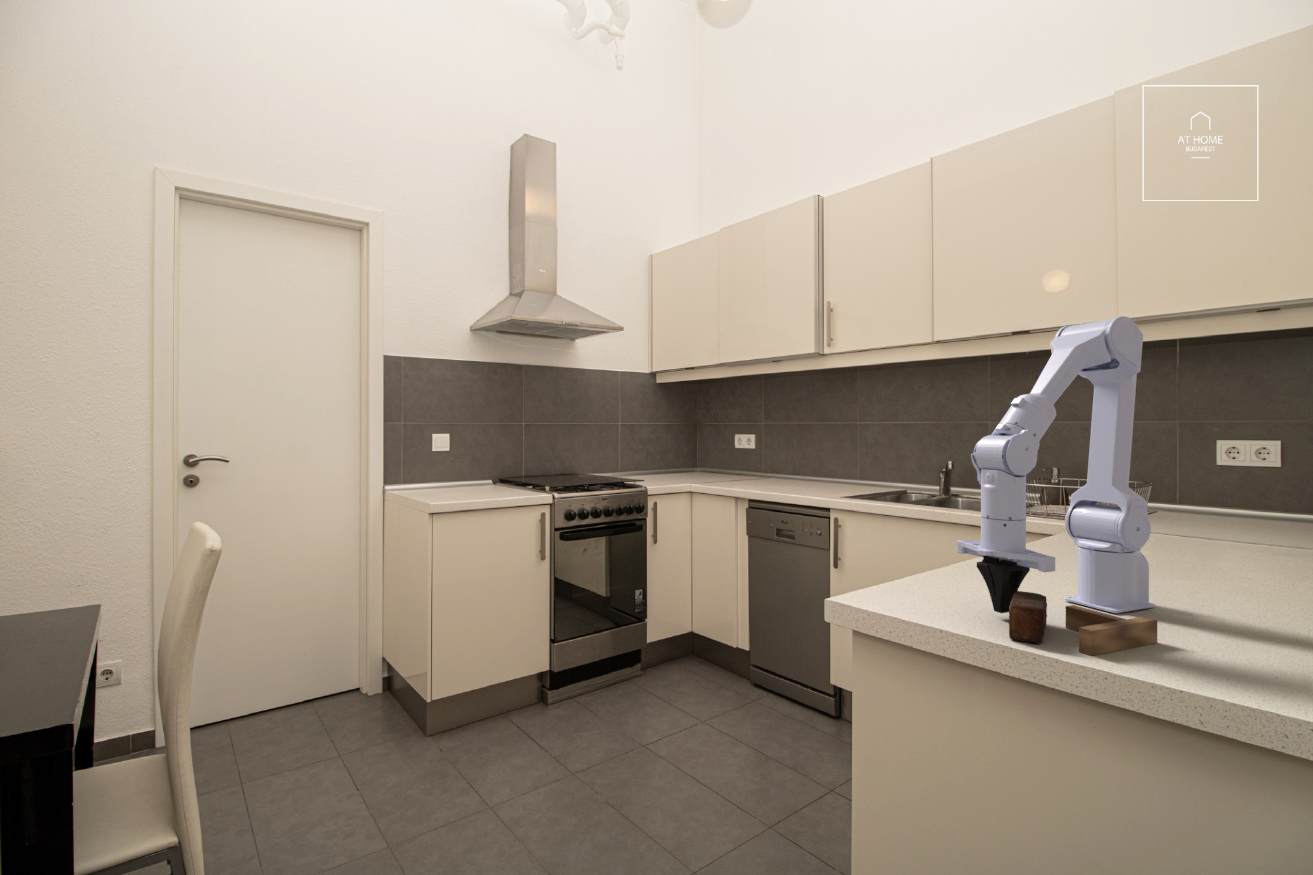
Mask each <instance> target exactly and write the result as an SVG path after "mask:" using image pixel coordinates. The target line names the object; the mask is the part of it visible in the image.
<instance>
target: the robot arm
mask: <svg viewBox="0 0 1313 875" xmlns="http://www.w3.org/2000/svg"><path fill="white" fill-rule="evenodd" d="M1143 341H1144V334H1143V332H1142V331H1141V330H1140V328H1139V326H1138V325H1137V324H1136V322H1135V321H1134V320H1133V319H1132V318H1131V317H1128V316H1124V315H1122V316H1117V317H1115V318H1111V319H1104V320H1098V321H1097V320H1096V321H1092V322H1086V323H1081V324H1074V325H1073V324H1067V325H1065V326H1062V327H1061V328H1059V329H1058V330H1057V332H1056V333H1055V336H1054V338H1052V339H1051V341H1050V342H1049V344H1050V350H1051V351H1050V352H1051V356H1050V358H1049V359H1048V360H1047V363H1046V364H1045V366H1044V368H1043V369H1042V371H1041V373H1040V375H1039V376H1038V379H1037V380H1036V382H1035V383H1034V385H1033V388H1032V389H1031V391H1030V392H1029V393H1027V394H1021V395H1019V396H1017V397H1014V398H1013V400H1012V401H1011V402H1010V405H1011V406H1010V407H1009V408H1008V410H1007V412H1005V414H1004V416H1002V419H1001V420H1000V421H999V423H998V424H997V426H996V427H995V428H994V430H993V432H992V433H991V434H988V435H986V436H983V437H981V439H980V440H979V441H977V443H976V444H975V446H974V449H973V452H972V453H971V454H970V460H971V463H972V466H973V468H974V469H975V470H976V474H977V475H976V476H977V481H978V484H979V485H980V541H978V540H971V539H961V540H957V541H956V542H957V544H956V550H957V553H958V554H962V555H965V554H967V555H971V556H975V557H980V558H983V559H982V560H981V561H977V562H976V568H977V570H978V571H979V573H980V574H981V576H982V578H983V581H984V583H985V585H986V587H987V590H988V594H989V596H990V600H991V603H992V607H993V610H994V611H993V612H996V613H998V614H999V613H1000V614H1006V613H1009V606H1010V603H1011V600H1012V598H1013V595H1014V593H1015V592H1016V591H1019V589H1020V586H1021V585H1022V583H1023V581H1024V579H1025V578H1026V576H1027V575H1028V573H1029V572H1030V571H1031V570H1030V569H1034V570H1038V571H1039V572H1041V573H1051V572H1056V556H1053V555H1052V556H1051V555H1047V554H1043V553H1040V552H1038V551H1034V550H1030V549H1027V548H1026V547H1027V545H1026V544H1027V541H1026V540H1027V539H1026V538H1027V475H1028V474H1029V473H1030V472H1032V471H1033V469H1035V467H1036V465H1037V463H1038V462H1037V461H1038V451H1039V449H1040V445H1041V443H1040V441H1041V439H1042V438H1043V436H1044V435H1045V433H1046V432H1047V431H1048V429H1049V427H1050V426H1051V425H1052V423H1053V422H1054V420H1055V419H1056V417H1057V409H1056V407H1055V403H1056V402H1057V400H1059V399H1060V397H1061V396H1062V395H1063V393H1064V392H1065V390H1067V388H1068V387H1069V386H1070V385H1071V384H1072V382H1073V381H1074V380H1075V379H1076V377H1077V376H1080V377H1081V378H1084V379H1087V380H1089V382H1091V384H1092V385H1093V397H1092V399H1093V400H1092V410H1091V413H1092V414H1091V423H1090V424H1091V425H1090V439H1089V450H1088V451H1089V453H1088V462H1087V463H1088V464H1087V480H1086V483H1085V485H1083V486H1082V487H1080V488H1079V489H1076V491H1074V492H1073V493H1071V496H1070V497H1071V498H1070V504H1069V507H1068V509H1067V511H1066V513H1065V516H1064V527H1065V530H1066V533H1067V535H1068V536H1069V537H1070V538H1071V539H1072V540H1073V545H1075V546H1077V595H1071V596H1065V597H1064V600H1065V601H1067V602H1070V603H1074V604H1078V605H1082V606H1086V607H1089V608H1093V609H1098V610H1101V611H1105V612H1109V613H1112V614H1121V613H1127V612H1132V611H1139V610H1144V609H1150V608H1156V603H1153V602H1150V565H1149V562H1148V559H1147V557H1146V556H1145V554H1143V553H1142V551H1141V548H1143V547H1144V546H1145V545H1146V543H1147V542H1148V541H1149V540H1150V539H1149V538H1150V537H1151V531H1152V530H1151V529H1152V526H1151V521H1150V519H1149V518H1150V517H1149V514H1148V512H1149V511H1148V501H1147V499H1145V498H1144V497H1142V496H1141V495H1140V494H1139V493H1137V492H1136V491H1134V490H1133V489H1131V487H1130V486H1129V484H1130V472H1131V471H1130V470H1131V458H1132V457H1131V456H1132V446H1133V444H1132V443H1133V430H1134V417H1135V406H1136V405H1135V404H1136V391H1137V390H1136V389H1137V376H1138V375H1137V374H1139V373H1140V372H1141V370H1142V369H1141V368H1142V354H1143ZM1099 503H1108V504H1109V503H1110V504H1114V505H1117V506H1114V505H1113V506H1112V505H1106V504H1105V505H1103V504H1099Z"/></svg>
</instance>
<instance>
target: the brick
mask: <svg viewBox="0 0 1313 875" xmlns="http://www.w3.org/2000/svg"><path fill="white" fill-rule="evenodd" d="M1047 608H1048V603H1047V596H1045V595H1044V594H1040V593H1037V592H1030V591H1022V590H1018V591H1016V592H1015V593H1014V595H1013V598H1012V600H1011V603H1010V606H1009V612H1008V614H1009V615H1008V628H1009V629H1008V636H1009V639H1010V640H1015V641H1019V642H1020V641H1021V642H1025V643H1027V642H1028V643H1033V644H1041V643H1042V642H1043V639H1044V638H1045V634H1046V628H1047V617H1048V613H1047Z"/></svg>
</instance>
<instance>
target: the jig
mask: <svg viewBox="0 0 1313 875" xmlns="http://www.w3.org/2000/svg"><path fill="white" fill-rule="evenodd" d="M1065 629H1067V630H1068V629H1069V630H1071V631H1074V632H1078V652H1079V653H1081V654H1085V655H1088V656H1090V657H1093V656H1097V655H1102V654H1103V655H1104V654H1108V653H1112V652H1117V651H1123V650H1127V649H1132V648H1138V647H1144V646H1148V645H1152V644H1153V645H1154V644H1157V643H1158V619H1156V618H1152V617H1149V616H1145V615H1143V616H1139V617H1131V618H1124V617H1120V616H1116V615H1113V614H1108V613H1105V612H1101V611H1097V610H1094V609H1093V610H1092V609H1089V608H1086V607H1082V606H1077V605H1075V604H1073V605H1072V604H1071V605H1066V606H1065Z"/></svg>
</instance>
